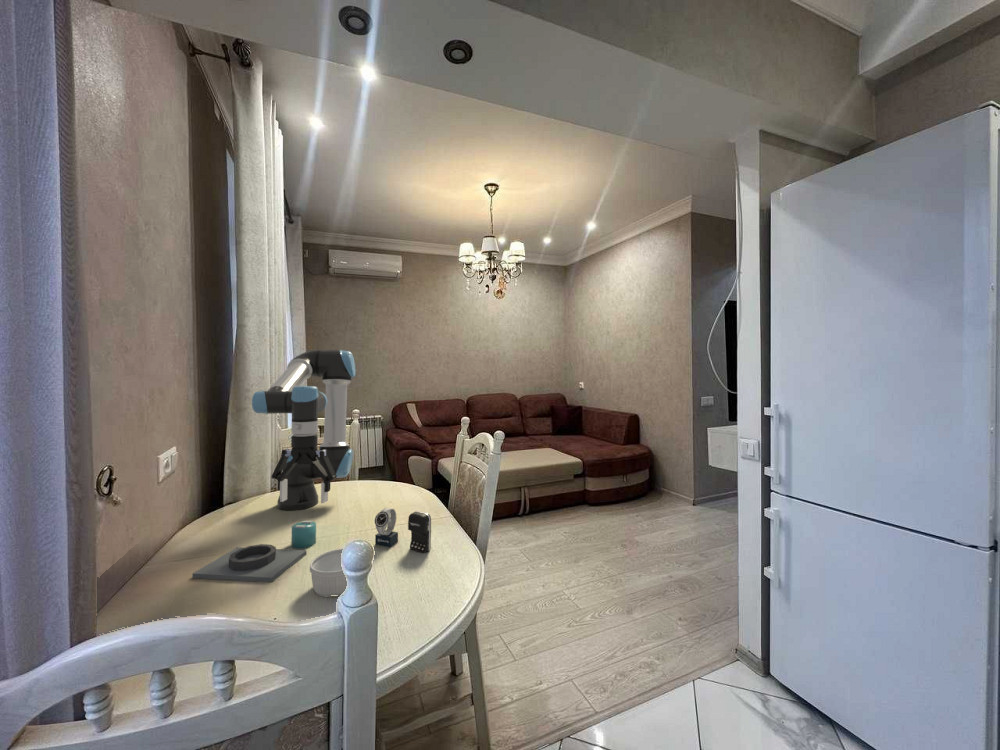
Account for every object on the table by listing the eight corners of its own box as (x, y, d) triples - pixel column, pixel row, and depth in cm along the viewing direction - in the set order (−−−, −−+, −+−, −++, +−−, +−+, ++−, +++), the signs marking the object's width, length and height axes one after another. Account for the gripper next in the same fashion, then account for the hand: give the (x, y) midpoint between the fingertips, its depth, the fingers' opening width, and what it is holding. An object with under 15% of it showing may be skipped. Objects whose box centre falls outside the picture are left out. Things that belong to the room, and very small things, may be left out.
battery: (406, 549, 123) (406, 513, 123) (414, 545, 126) (414, 509, 126) (423, 555, 119) (423, 517, 119) (431, 550, 123) (431, 513, 123)
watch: (371, 547, 124) (371, 512, 124) (386, 537, 132) (386, 504, 132) (386, 549, 123) (387, 514, 123) (401, 539, 130) (401, 506, 130)
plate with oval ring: (237, 551, 121) (237, 539, 121) (306, 554, 119) (306, 542, 119) (192, 577, 105) (192, 564, 105) (271, 582, 103) (271, 568, 103)
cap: (299, 539, 130) (299, 519, 130) (320, 540, 130) (320, 519, 130) (286, 548, 123) (286, 527, 123) (308, 549, 123) (308, 528, 123)
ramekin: (308, 605, 93) (308, 576, 93) (310, 579, 105) (310, 552, 105) (367, 593, 98) (367, 565, 98) (363, 569, 110) (363, 544, 110)
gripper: (259, 435, 124) (258, 503, 123) (336, 437, 122) (335, 506, 121) (275, 432, 131) (274, 496, 131) (347, 433, 129) (347, 498, 129)
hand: (303, 501), depth 126 cm, fingers open, 13 cm apart
